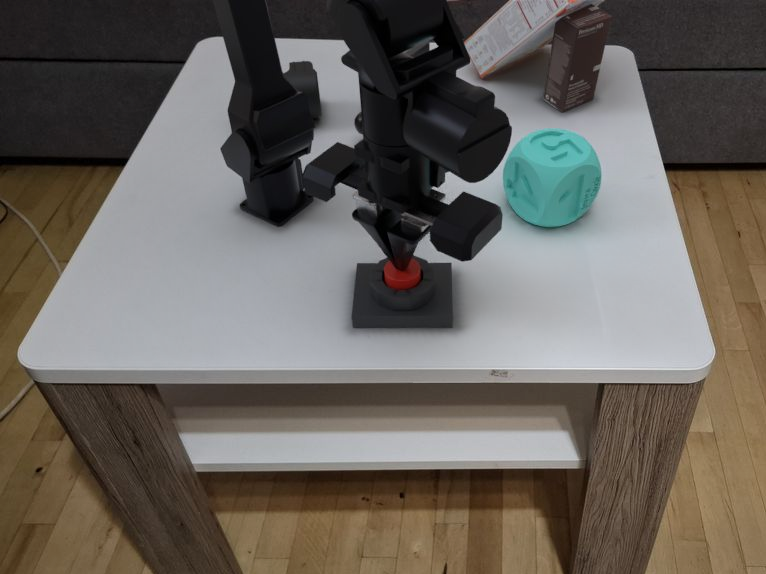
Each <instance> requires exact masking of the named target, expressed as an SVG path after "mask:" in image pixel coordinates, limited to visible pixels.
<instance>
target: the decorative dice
mask: <svg viewBox="0 0 766 574" xmlns="http://www.w3.org/2000/svg"><path fill="white" fill-rule="evenodd" d="M601 184H602V167H601V162H600V159H599V156H598V155H597V152H596V150H595V148H594V147H593V146H592V143H590V142H589V141H588V140H587V139H586V138H585V137H584V136H582V135H581V134H579V133H577V132H574V131H571V130H568V129H563V128H543V129H538V130H535V131H532V132H530V133H529V134H527V135H525V136H524V137H523V138H521V139H520V140H519V141H518V142H517V143H516V144H515V145H514V146H513V148H512V149H511V151H510V152H509V154H508V156H507V157H506V159H505V163H504V166H503V170H502V186H503V189H504V192H505V196H506V198H507V199H506V200H507V201H508V203H509V205H510V206H511V208H512V210H513V211H514V212H515V213H516V215H517V216H519V218H521V219H522V220H524V221H525V222H527V223H529V224H532V225H534V226H538V227H542V228H543V227H545V228H557V227H562V226H566V225H569V224H572V223H573V222H575V221H576V220H578V219H579V218H581V216H583V215H584V214H586V212H587V211H588V210H589V208H590V207H591V206H592V204H593V203H594V202H595V200H596V198H597V196H598V194H599V192H600V189H601Z"/></svg>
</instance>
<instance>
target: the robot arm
mask: <svg viewBox="0 0 766 574" xmlns="http://www.w3.org/2000/svg"><path fill="white" fill-rule="evenodd" d="M325 1H326V2H325V3H326V12H327V14H328V15H329V17H330V20H331V21H332V22H333V24H334V25H335V27H336V29H337V30H338V32H339V34H340V36H341V38H342V40H343V42H344V43H345V45H346V46H347V48H348V49H349V50H347V52H345V54H343V55H342V56H340V57H341V58H340V60H341V63H342V64H343V65H344V66H346V67H347V68H349V69H350V70H352V71H354V72H356V73H357V76H358V86H359V89H358V90H359V98H360V99H359V100H360V112H361V115H362V128H363V135H362V139H361V140H360V141H359V142H357V143H356V144H354V146H353V147H352V146H350V145H346V144H344V143H341V142H339V141H337V142H336V143H334V144H333V145H331V146H330V147H329V148H327V149H326V150H325V151H323V152H322V153H321V154H319V155H318V156H316V157H315V158H314V159H312V160H311V161H309V162H308V163H307V164H306V165H305V167H304V169H303V165H302V160H301V159H300V158H301V157H304V156H307V155H309V154H311V152H312V145H313V141H314V139H315V138H314V137H315V132H314V130H315V128H316V124H315V122H314V119H312V116H311V113H310V107H309V99H308V97H307V96H306V94H305V93H304V92H299V91H298V90H297V89H296V88H295V87H294V86H293V85H292V84H291V83H290V82H289V81H288V80H287V79H286V78H285V76H284V75H283V73H284V71H283V68H282V64H281V59H280V56H279V51H278V47H277V43H276V38H275V34H274V29H273V25H272V22H271V21H272V20H271V16H270V13H269V12H270V11H269V8H268V2H267V0H212V2H213V5H214V10H215V13H216V17H217V20H218V24H219V28H220V31H221V35H222V39H223V42H224V46H225V49H226V53H227V58H228V60H229V63H230V67H231V71H232V74H233V79H234V83H233V88H232V92H231V95H230V99H229V102H228V106H227V116H228V120H229V125H230V131H231V133H230V135H229V136H228V137H227V139H226V140H225V141H224V143H223V144H222V146H221V147H220V149H219V150H220V153H221V155H222V157H223V160H224V163H225V165H226V167H227V168H228V169H230V170H231V171H232V172H234V173H235V174H237V175H238V176H239V177H241V179H242V184H243V188H244V192H245V199H244V200H243V201H242V202H240V203H239V209H240V210H241V211H243V212H245V213H248V214H250V215H252V216H254V217H257V218H258V219H261V220H262V221H265V222H267V223H269V224H272V225H273V226H276V227H281V226H283V225H284V224H286V223H287V222H288V221H290V220H291V219H292V218H294V217H295V216H296V215H297V214H298V213H300V212H301V211H302V210H303V209H305V208H306V207H308V206H309V205H310V204H311V203H312V202H313V201H314V200H315V198H316V199H318V200H319V201H322V202H325V203H327V202H329V201H331V199H333V198H335V196H336V186H338V185H339V184H342V185H344V186H347V187H349V188H351V189H354V190H356V191H355V192H353V194H352V198H353V200H355V203H356V208H355V209H354V210H352V212H351V217H352V219H353V220H354V221H355V222H357V223H359V224H360V225H361V227H362V228H363V229H364V230H365V232H366V233H367V234H368V235H369V236H370V237H371V238H372V240H373V241H374V242H375V243H376V245H377V246H378V247H379V249H380V250H381V251H382V252H383V254H384V256H385V257H386V258H388V259H389V260H390V262H391V263H392V264H393V266H394V267H395V268H396V269H397V270H400V271H402V272H403V271H404V270H405V269H406V268H407V267H408V265H409V263H410V261H411V259H412V256H413V255H414V254H415V252H416V249H417V247H418V245H419V243H420V242H421V241H422V240H423V239H424V238H425V237H426V236H427V235H428V234H429V241H430V243H431V244H432V246H433V247H434V249H435V250H436V251H437V252H439V253H441V254H443V255H446V256H448V257H450V258H453V259H454V260H457V261H460V262H462V263H463V262H469V261H470V262H471V261H473V259H474V258H475V257H476V256H477V255H478V254H479V253H480V252H481V251H482V250H484V248H485V247H486V246H487V245H488V244H489V243H490V242H491V241H492V240H493V239H494V237H495V236H497V234H499V232H500V231H502V229H503V217H504V215H503V211H502V208H501V206H500V205H498V204H496V203H494V202H492V201H489V200H486V199H485V198H481V197H479V196H476V195H474V194H471V193H470V192H469V193H468V192H466V191H462V192H460V194H458V196H457V197H455V199H453V200H452V201H451V202H450V203H449V204H448V203H446V202H444V201H445V200H446V198H447V195H446V193H444V192H441V191H439V190H436V189H434V188H437V189H439V188H440V187H441V186H443V184H444V183H446V174H447V173H451V174H452V175H454V176H456V177H458V178H459V179H461V180H462V181H465V182H466V183H469V184H476V183H480V182H482V181H484V180H485V179H487V178H489V176H490V175H492V174H493V173H494V172H495V170H496V169H498V167H499V166H500V164H501V163H502V161H503V160H504V157H505V156H506V154H507V152H508V149H509V147H510V144H511V139H512V134H513V127H512V125H511V124H510V119H509V117H508V115H507V113H506V112H505V111H503V110H502V109H501V108H499V107H497V106H495V105H496V104H495V103H496V95H495V93H494V92H493V91H491V90H489V89H487V88H485V87H482V86H478V85H475V84H472V83H470V82H469V81H466V80H464V79H462V78H460V77H459V76H457V71H458V70H460V69H462V68H464V67H466V66H468V65H470V64H471V59H470V57H469V54H468V52H467V49H466V47H465V44H464V42H465V41H464V40H465V36H464V34H463V32H462V30H461V29H460V27H459V25H458V24H457V22H456V19H455V17H454V15H453V13H452V10H451V8H450V5H449V2H448V0H325ZM432 40H433V42H434V43H435V44H436V46H437V47H434V48H432V49H430V51H428V52H426V53H423V54H421V55H419V56H417V57H415V58H413V57H411V56H409V55H407V54H405V53H404V51H407V50H409V49H411V48H413V47H416V46H418V45H420V44H422V43H425V42H427V41H428V42H430V41H432Z"/></svg>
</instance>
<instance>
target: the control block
mask: <svg viewBox="0 0 766 574" xmlns="http://www.w3.org/2000/svg"><path fill="white" fill-rule="evenodd" d="M412 259H414V260H416V261H417V262H418V263H419V265H420V273H421V282H420V284H419V285H418V286H416V287H414V288H411V289H409V290H395V289H393V288H390V287H388V286H386V284H385V274H384V267H385V265H386V263H387V262H388V261H390V260H389V259H388V258H387V257H386V258H383V259H380V260H379V261H378V262H357V263H356V269H355V279H354V288H353V289H354V290H353V298H352V308H351V324H352V329H453V328H454V327H453V326H454V310H453V309H454V307H453V306H454V305H453V273H452V271H453V270H452V267H453V266H452V265H453V264H452V262H429V261H428V260H426V259H425V258H422V257H419V256H417V255H414V254H413V256H412Z"/></svg>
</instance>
